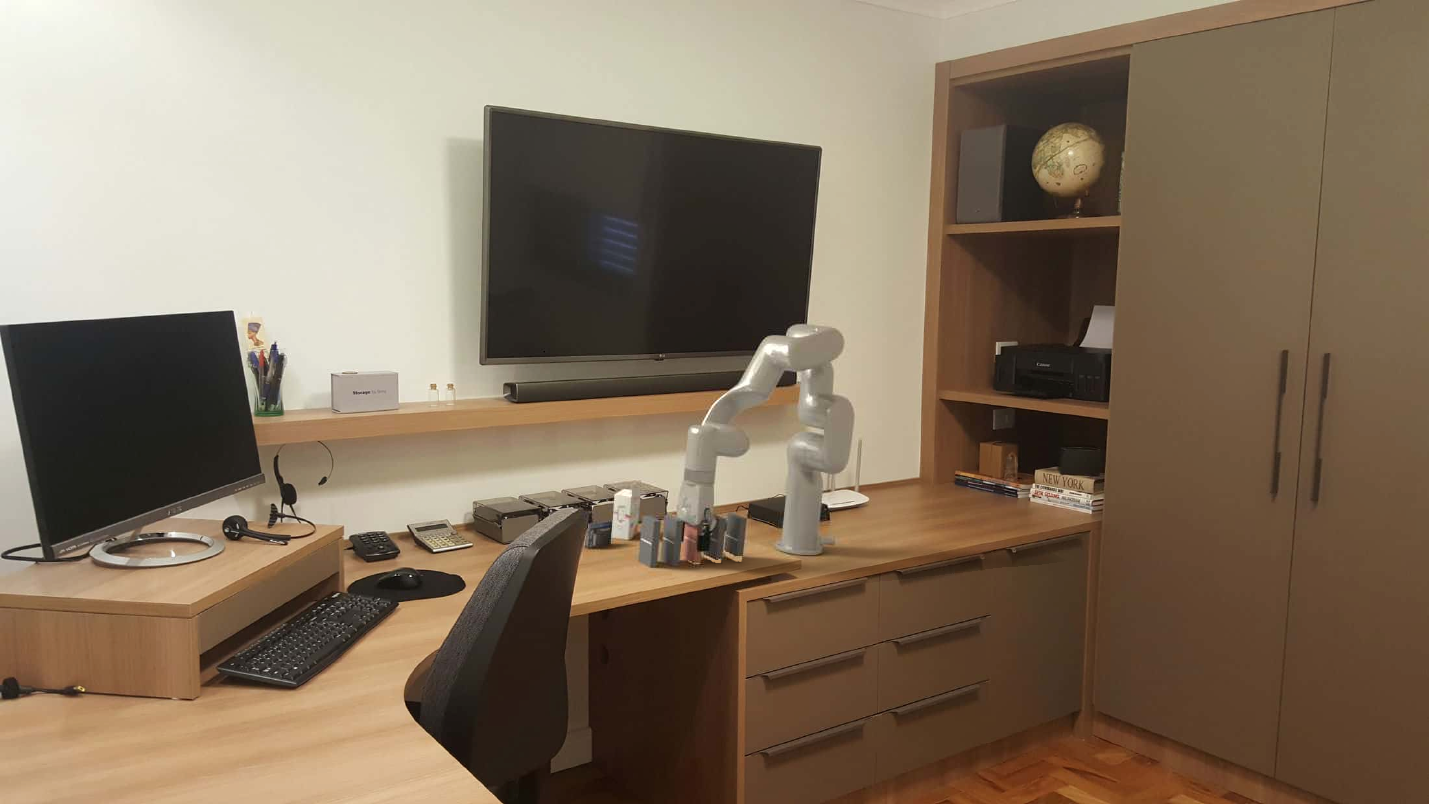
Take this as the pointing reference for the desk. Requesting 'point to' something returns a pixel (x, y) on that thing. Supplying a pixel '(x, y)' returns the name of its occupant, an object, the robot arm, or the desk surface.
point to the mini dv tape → (598, 534)
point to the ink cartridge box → (626, 512)
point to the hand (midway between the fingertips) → (692, 546)
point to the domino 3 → (691, 543)
